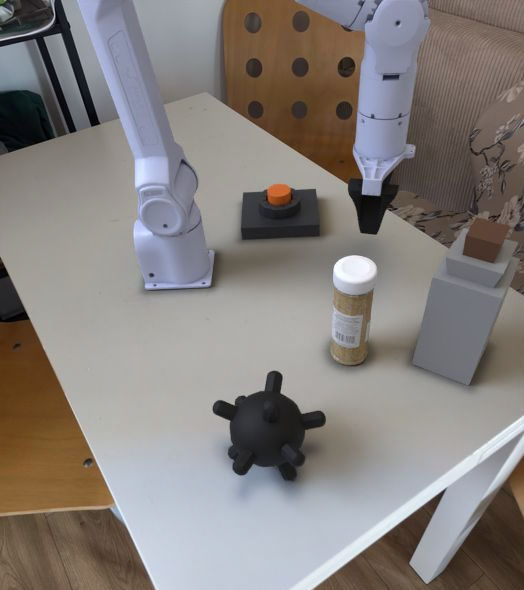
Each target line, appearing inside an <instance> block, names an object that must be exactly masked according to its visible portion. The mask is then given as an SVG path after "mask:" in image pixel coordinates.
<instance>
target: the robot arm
mask: <svg viewBox="0 0 524 590" xmlns="http://www.w3.org/2000/svg"><path fill="white" fill-rule="evenodd" d="M76 2H77V6H78V8H79V11H80V14H81V16H82V19H83V21H84V24H85V27H86V30H87V33H88V35H89V38H90V41H91V44H92V47H93V49H94V52H95V54H96V57H97V60H98V62H99V66H100V68H101V70H102V73H103V76H104V79H105V81H106V84H107V87H108V91H109V92H110V95H111V98H112V101H113V103H114V107H115V109H116V112H117V115H118V117H119V120H120V123H121V125H122V129H123V131H124V134H125V137H126V139H127V142H128V145H129V147H130V150H131V153H132V156H133V158H134V189H135V192H136V194H137V199H138V202H137V203H138V204H137V217H138V219H136V220H135V222H134V224H133V245H134V250H135V254H136V257H137V260H138V264H139V266H140V270H141V273H142V276H143V280H144V283H145V284H144V289H145V290H148V291H149V290H153V291H155V290H175V289H177V290H178V289H197V288H198V289H199V288H201V289H202V288H210V287H211V286H212V280H213V271H214V264H215V255H216V254H215V251H214V249H213V250H212V249H210V250H208V246H207V240H206V234H205V230H204V229H205V228H204V224H203V218H202V212H201V210H200V208H199V206H198V204H197V203H196V201H195V194H196V193H197V190H198V188H199V183H200V180H199V176H198V172H197V170H196V168H195V167H194V166H193V165H192V164H191V163H190V161H189V160H188V158H187V157H186V154H185V150H184V148H183V146H181V144H179V143H177V142H176V141H175V138H174V134H173V131H172V127H171V124H170V121H169V117H168V114H167V111H166V107H165V105H164V100H163V97H162V93H161V90H160V88H159V84H158V81H157V78H156V74H155V69H154V67H153V64H152V60H151V58H150V53H149V50H148V47H147V44H146V43H147V42H146V40H145V37H144V33H143V30H142V27H141V23H140V20H139V16H138V13H137V10H136V6H135V3H134V0H76ZM294 2H295V3H296V4H298V5H301V6H303V7H304V8H307V9H309V10H311V11H313V12H315V13H317V14H318V15H320V16H323V17H324V18H327V19H328V20H331V21H333V22H335V23H336V24H339V25H341V26H342V27H345V28H347V29H349V30H350V31H359V32H364V35H365V37H364V49H363V58H362V61H361V63H360V73H359V86H358V100H357V111H356V114H357V115H356V126H355V127H356V128H355V141H354V144H353V145H352V146H353V147H352V155H353V158H354V160H355V162H356V165H357V167H358V169H359V172H360V174H361V176H362V178H354V177H350V178H349V180H348V183H347V193H348V196H349V197H350V199H351V200H352V203H353V205H354V208H355V211H356V215H357V223H358V225H357V226H358V229H359V233H360V234H364V235H374V236H375V235H377V234H378V233H379V231H380V228H381V225H382V223H383V219H384V217H385V215H386V212H387V210H388V208H389V206H390V205H391V203H392V202H393V201H394V200H395V199H396V197H397V195H398V193H399V189H400V188H399V187H400V185H399V184H391V179H392V176H393V173H394V171H395V168H396V167H397V166H399V164H400V163H401V162H403V160H404V159H413V158H414V157H415V153H416V148H417V147H416V145H415V144H412V143H411V144H410V143H407V140H408V139H407V138H408V131H409V124H410V118H411V112H412V111H411V110H412V105H413V98H414V93H415V85H416V79H417V78H416V77H417V70H418V62H417V60H418V55H419V51H420V45H421V43H423V41H424V40H425V38H426V37H427V35H428V33H429V29H430V27H431V24H432V21H431V19H430V18H429V16H430V11H429V4H428V1H427V0H294Z"/></svg>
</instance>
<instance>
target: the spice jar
mask: <svg viewBox="0 0 524 590" xmlns="http://www.w3.org/2000/svg"><path fill="white" fill-rule="evenodd" d="M377 281H378V267H377V265H376V263H375V262H374V261H373V260H372V259H370V258H369V257H366V256H363V255H353V254H352V255H347V256H343V257H342V258H340V259H339V260H337V261H336V263H335V264H334V266H333V271H332V282H333V283H332V284H333V300H332V313H331V314H332V315H331V316H332V317H331V345H330V349H329V350H330V355H331V357H332V359H333V360H334V361H336V362H337V363H339V364H341V365H344V366H355V365H358V364H361V363H362V362H364V361H365V359H366V358H367V357H368V356H367V355H368V354H369V353H368V341H369V337H370V331H371V322H372V308H373V299H374V290H375V287H376V286H377Z"/></svg>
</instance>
